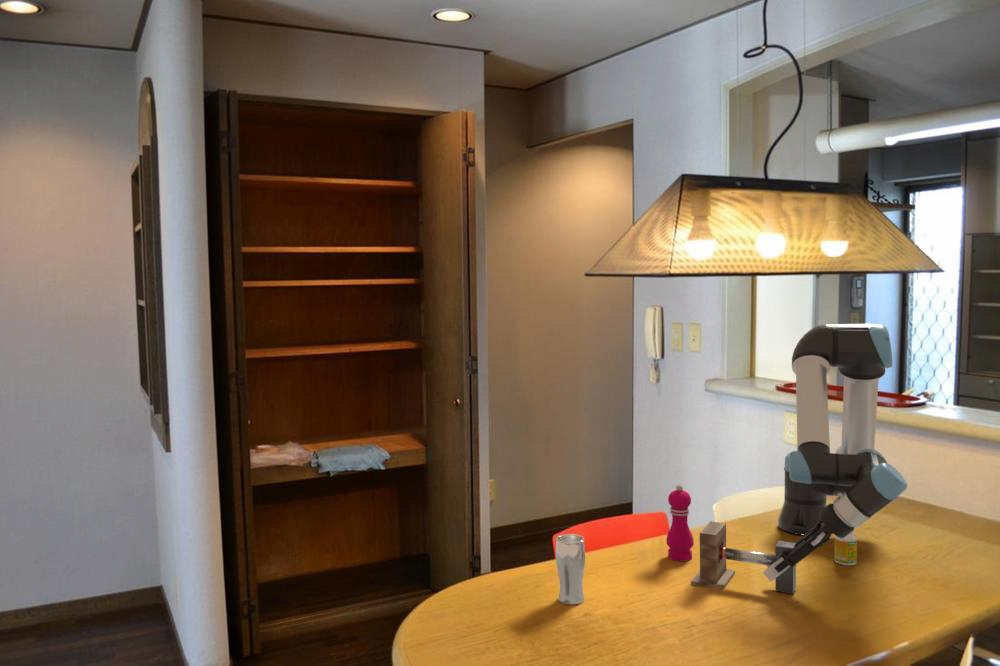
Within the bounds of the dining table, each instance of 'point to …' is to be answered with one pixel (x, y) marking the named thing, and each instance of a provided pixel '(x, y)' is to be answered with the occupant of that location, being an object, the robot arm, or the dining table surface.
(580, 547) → the beer glass
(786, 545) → the metal rod with plate
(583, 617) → the dining table surface
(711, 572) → the wooden arch frame
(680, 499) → the pepper mill
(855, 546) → the supplement bottle
